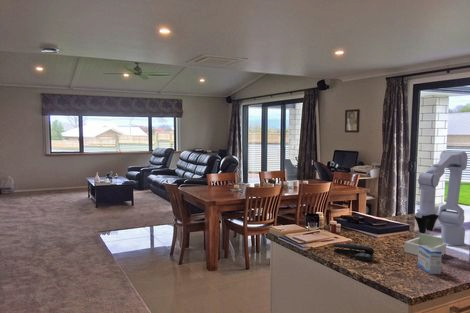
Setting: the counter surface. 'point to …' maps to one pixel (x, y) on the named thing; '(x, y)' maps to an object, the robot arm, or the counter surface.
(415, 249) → the white open tray
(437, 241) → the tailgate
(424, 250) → the medicine box
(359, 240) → the counter surface
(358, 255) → the can opener
